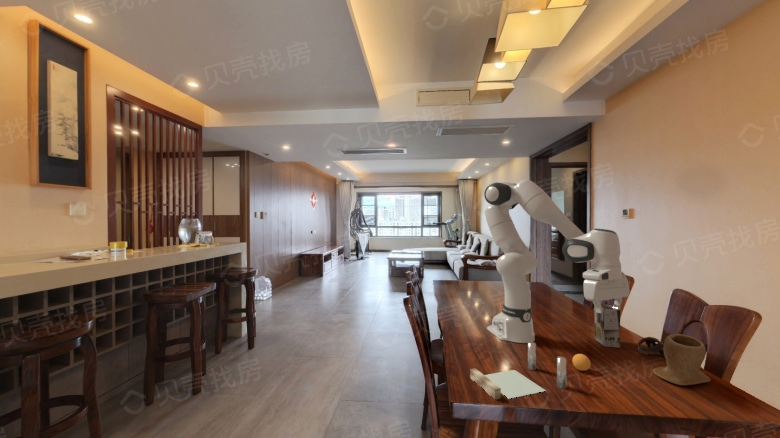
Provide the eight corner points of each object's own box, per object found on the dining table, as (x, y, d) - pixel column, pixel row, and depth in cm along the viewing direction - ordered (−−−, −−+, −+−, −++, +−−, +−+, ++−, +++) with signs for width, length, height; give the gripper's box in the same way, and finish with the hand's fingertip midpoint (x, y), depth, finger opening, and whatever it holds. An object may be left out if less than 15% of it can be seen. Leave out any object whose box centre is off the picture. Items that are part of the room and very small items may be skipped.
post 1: (526, 367, 109) (526, 342, 110) (532, 366, 110) (532, 341, 110) (531, 370, 107) (531, 345, 107) (537, 369, 108) (537, 344, 108)
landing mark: (480, 376, 103) (480, 375, 103) (514, 370, 107) (514, 369, 107) (508, 399, 89) (508, 398, 89) (546, 391, 94) (546, 390, 94)
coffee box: (621, 348, 127) (621, 309, 127) (604, 346, 128) (603, 308, 128) (610, 339, 136) (609, 303, 136) (594, 338, 137) (593, 302, 137)
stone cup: (685, 393, 93) (685, 344, 94) (647, 374, 105) (646, 330, 105) (725, 389, 96) (725, 341, 96) (683, 370, 107) (683, 328, 108)
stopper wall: (470, 378, 101) (470, 369, 102) (475, 377, 102) (475, 368, 102) (495, 399, 89) (495, 389, 89) (500, 398, 90) (500, 388, 90)
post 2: (555, 385, 97) (555, 356, 98) (561, 383, 98) (561, 355, 98) (561, 389, 95) (561, 360, 95) (568, 387, 96) (568, 359, 96)
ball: (568, 367, 109) (568, 352, 109) (580, 365, 111) (580, 350, 111) (582, 374, 104) (582, 358, 104) (594, 372, 106) (594, 356, 106)
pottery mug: (678, 365, 113) (667, 346, 113) (648, 370, 117) (638, 352, 117) (665, 345, 123) (655, 328, 123) (638, 351, 128) (628, 334, 128)
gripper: (615, 270, 118) (617, 306, 117) (579, 273, 110) (581, 312, 109) (633, 272, 112) (635, 309, 111) (596, 276, 104) (598, 316, 103)
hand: (608, 311), depth 110 cm, fingers open, 8 cm apart
